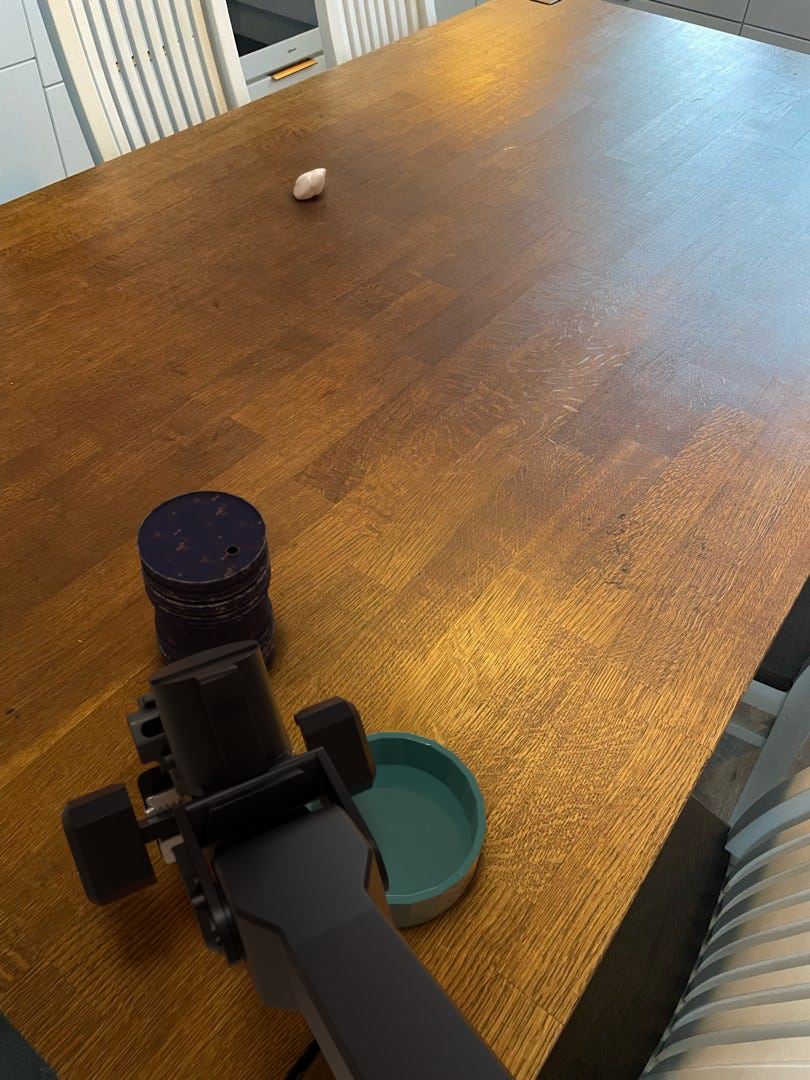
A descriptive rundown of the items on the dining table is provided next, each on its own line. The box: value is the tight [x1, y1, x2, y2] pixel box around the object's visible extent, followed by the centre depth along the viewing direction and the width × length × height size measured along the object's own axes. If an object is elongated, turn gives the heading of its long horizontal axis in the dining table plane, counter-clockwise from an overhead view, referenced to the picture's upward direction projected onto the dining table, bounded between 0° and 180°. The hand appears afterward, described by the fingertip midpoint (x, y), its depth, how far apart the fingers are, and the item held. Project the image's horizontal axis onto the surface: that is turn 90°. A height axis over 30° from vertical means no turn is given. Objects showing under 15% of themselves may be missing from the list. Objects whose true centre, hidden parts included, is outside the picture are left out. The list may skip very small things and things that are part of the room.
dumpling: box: [293, 168, 327, 200], centre depth 137 cm, size 7×5×4 cm
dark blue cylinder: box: [136, 489, 276, 672], centre depth 73 cm, size 10×10×15 cm
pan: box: [305, 731, 487, 929], centre depth 66 cm, size 13×13×4 cm
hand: (205, 765), depth 63 cm, fingers closed on fennel bulb, 2 cm apart
